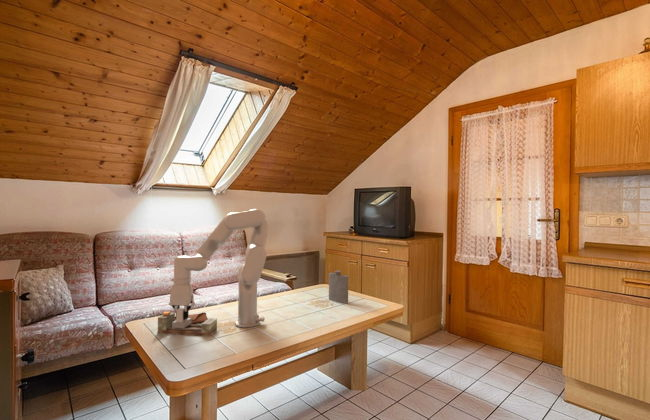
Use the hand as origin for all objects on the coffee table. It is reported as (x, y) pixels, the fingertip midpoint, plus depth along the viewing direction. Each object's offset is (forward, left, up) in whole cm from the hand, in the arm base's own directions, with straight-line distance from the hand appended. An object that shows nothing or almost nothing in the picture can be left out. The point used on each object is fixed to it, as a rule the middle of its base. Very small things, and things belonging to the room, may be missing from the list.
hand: (182, 318), depth 163 cm
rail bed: (-3, 0, -6) cm, 7 cm away
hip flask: (-72, -63, -7) cm, 96 cm away
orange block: (+8, 0, -2) cm, 8 cm away
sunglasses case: (+1, -12, -7) cm, 13 cm away
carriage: (0, 0, -3) cm, 3 cm away
